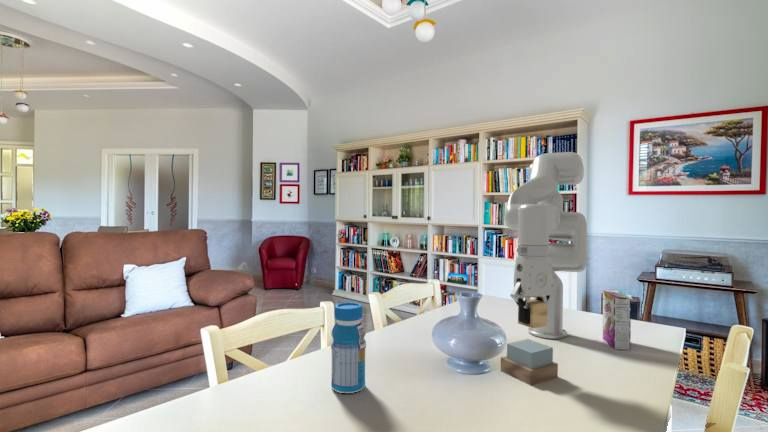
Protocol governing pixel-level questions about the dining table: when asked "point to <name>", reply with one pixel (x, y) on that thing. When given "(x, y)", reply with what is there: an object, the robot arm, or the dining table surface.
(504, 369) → the walnut slab
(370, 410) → the dining table surface
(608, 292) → the candy bar box
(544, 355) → the slate-grey block
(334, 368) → the beverage bottle
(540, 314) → the oak block
